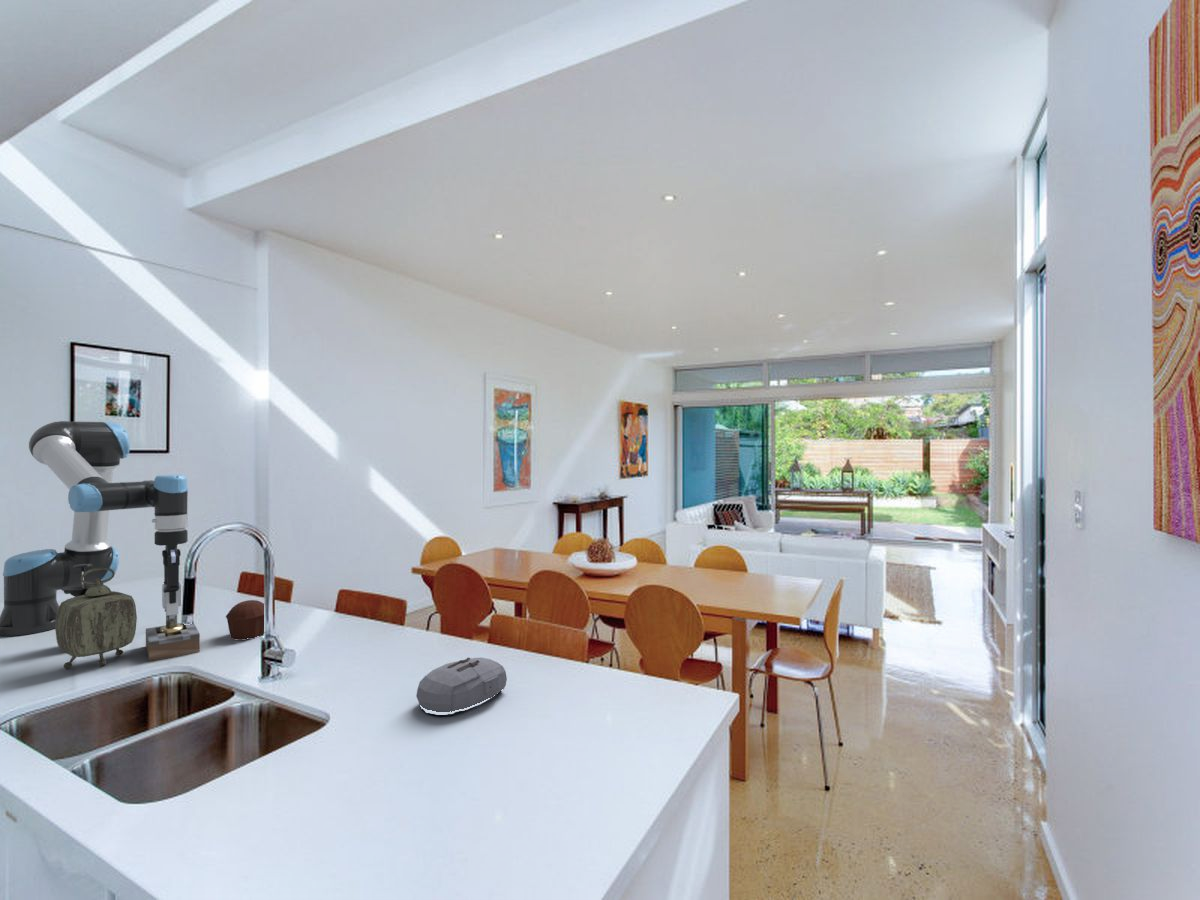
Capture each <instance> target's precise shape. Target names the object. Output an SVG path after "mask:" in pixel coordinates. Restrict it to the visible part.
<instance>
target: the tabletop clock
mask: <svg viewBox="0 0 1200 900" xmlns="http://www.w3.org/2000/svg"><path fill="white" fill-rule="evenodd" d="M97 570H108V571H110V572H112V577H110V578H109V579H106V580H103V581H101V579H99V578H97V579H96V580H95V582H86V581H84V580H83V577H84V576H85V575H86V574H88V573H90V572H93V571H97ZM115 575H116V573H114V571H113V570H112V569H110V568H106V567H100V568H94V569H90V570H88V571H86V572H85V573H84V574H83V575H82V576H81V581H82V582H83V583H84V584H88V585H95V586H92V587H90V588H89V589H88V590H87V591H86V593H85V595H82V596H77V597H74V596H73V597H70V598H68V599H66V600H63V601H61V602H60V604H59V608H58V611H57V616H56V626H55V628H54V629H55V636H56V637H55V638H56V642H57V647H58V648H59V650H60V651H61V652H63V653H64V654H67V655H69V656H71V658H70V660H69V661H67V662H65V663H64V664H63V668H64V669H67V670H68V669H70V668H71V667H73V662H74V661H75V659H76V658H84V657H90V656H96V655H98V656H99V659H100V660H99V661H98V662H97V665H98V666H99V667H104V666H106V664H107V660H106V659H104V654H106V653H109V652H111V651H115V656H117V657H120V656H122V655H123V654H124V650H123V649H121V648H123V647H127V646H128V645H130V644H132V643H133V640H134V638H135V635H136V630H137V621H138V617H137V607H136V603H135V602H136V601H135V599H134V597H133V596H132V595H130V594H126V593H123V592H119V591H115V590H114V591H113V590H111V588H110V587H109V586H107V585H105V583H108V582H109V581H111V580H112V579H113V578H114V577H115ZM102 583H103V584H104V585H101V584H102Z"/></svg>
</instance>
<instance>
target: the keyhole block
mask: <svg viewBox="0 0 1200 900" xmlns="http://www.w3.org/2000/svg"><path fill="white" fill-rule="evenodd" d="M191 621H192V624H190V625H184V624H183V623H184V622H179V623H178V622H177V624H181V625H183V630H180V635H174V636H168V637H166V636H165V633H160V628H162V627H164V626H166V624H165V625H160V626H154V627H148V628H145V648H146V649H145V650H146V653H147V657H148V661H149V662H153V661H157V660H158V661H159V660H164V659H168V658H174V657H180V656H185V655H190V654H197V653H200V651H201V650H200V649H201V646H200V645H201V643H200V640H201V639H200V636H201V635H200V634H201V633H200V632H199V630H198V628H197V626H196V625H195V622H194V621H193V620H191Z"/></svg>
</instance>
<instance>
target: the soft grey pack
mask: <svg viewBox="0 0 1200 900" xmlns="http://www.w3.org/2000/svg"><path fill="white" fill-rule="evenodd" d="M507 679H508V676H507V673H506V669H505V668H504V666H503V665H502V664H500V663H499V662H497V661H495V660H493V659H490V658H486V657H466V658H465V659H461V660H458V661H453V662H449V663H448V662H447V663H445V664H443V665H441V666H439V667H437V668H434V669H432V670H431V671H430V672H428V673H427V674H425V676H423V678H422V679H420V681H419V683H418V687H417V689H416V699H417V702H418V705H419V706H420V705H421V706H422V707H423V708H425V709H427V710H432V711H436V712H450V711H451V712H452V711H455V710H459V709H464V708H467V707H470V706H472V705H475V704H477V703H480V702H482V701H484V700H486V699H488V698H491V697H493V696H494V695H496V694H497V693H499V692H500V691H501V690H502V689H503V690H504V689H505V688H506V686H507ZM501 692H502V691H501ZM501 692H500V693H501ZM500 693H499V694H500ZM496 696H497V695H496Z"/></svg>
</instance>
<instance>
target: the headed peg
mask: <svg viewBox="0 0 1200 900" xmlns="http://www.w3.org/2000/svg"><path fill="white" fill-rule="evenodd" d="M166 589H167V584H164V583H163V584H161V593H162V594H161V596H162V597H161V605H162V609H164V610H165V608H166V593H164V590H166ZM178 607H182V584H181V582H180V581H179V590H178ZM165 625H166V626H165ZM165 625H163V626H164V627H162V628H160V633H165V636H166V637H168V636H174V635H180V630H183V625H181V624H178V614H174V615H168V616H166V615H165Z"/></svg>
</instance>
